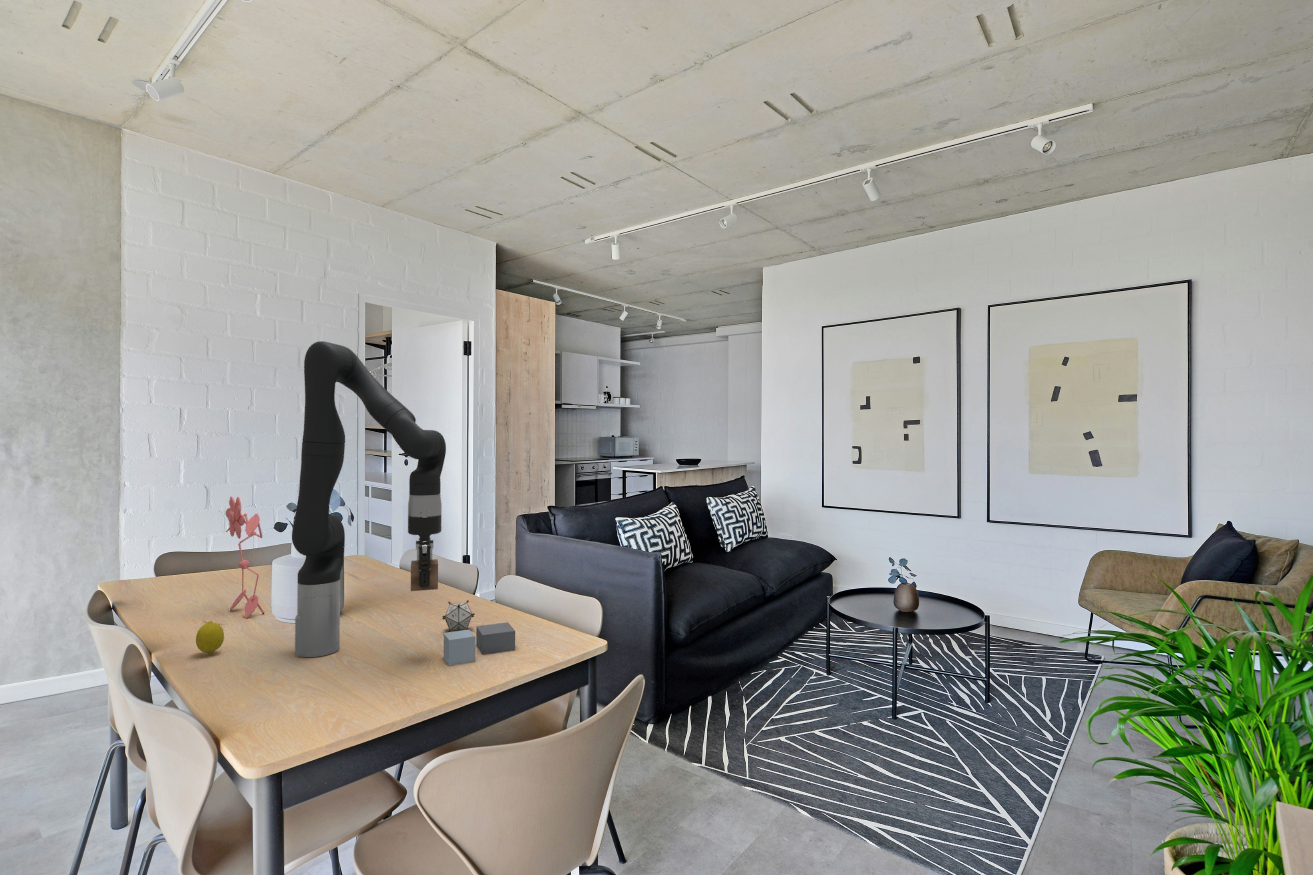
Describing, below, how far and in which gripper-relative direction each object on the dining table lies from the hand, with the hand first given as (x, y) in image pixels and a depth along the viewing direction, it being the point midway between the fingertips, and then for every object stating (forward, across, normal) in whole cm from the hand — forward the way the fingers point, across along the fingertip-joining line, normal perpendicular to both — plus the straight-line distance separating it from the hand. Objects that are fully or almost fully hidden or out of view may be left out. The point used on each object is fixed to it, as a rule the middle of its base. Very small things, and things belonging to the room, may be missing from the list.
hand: (424, 583), depth 150 cm
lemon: (+18, -19, -48) cm, 55 cm away
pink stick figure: (+18, -55, -52) cm, 78 cm away
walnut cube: (+1, 0, 0) cm, 1 cm away
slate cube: (+18, +4, +8) cm, 20 cm away
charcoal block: (+18, -2, +17) cm, 25 cm away
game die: (+18, -19, +9) cm, 28 cm away
